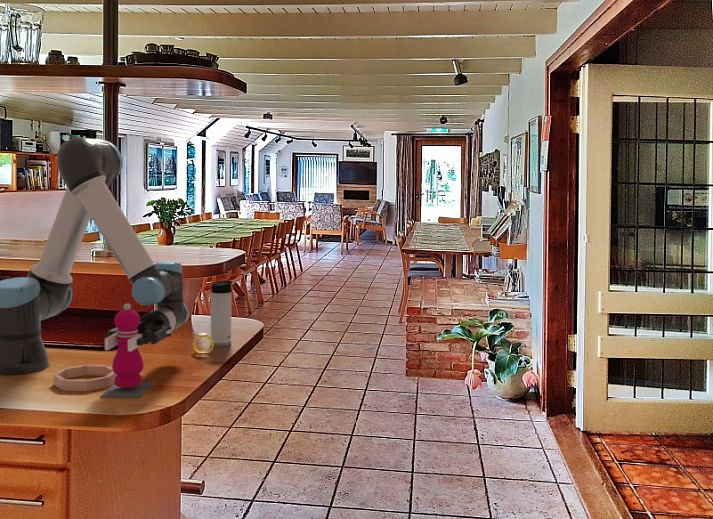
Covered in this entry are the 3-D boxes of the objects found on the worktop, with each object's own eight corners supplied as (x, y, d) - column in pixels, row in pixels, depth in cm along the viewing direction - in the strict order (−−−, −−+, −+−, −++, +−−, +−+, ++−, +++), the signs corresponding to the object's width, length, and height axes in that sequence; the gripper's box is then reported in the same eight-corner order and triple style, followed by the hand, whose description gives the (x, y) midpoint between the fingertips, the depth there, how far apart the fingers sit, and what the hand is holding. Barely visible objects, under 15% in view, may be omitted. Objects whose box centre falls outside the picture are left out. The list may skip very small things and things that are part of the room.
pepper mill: (126, 377, 176) (125, 299, 174) (149, 381, 174) (149, 302, 171) (106, 385, 170) (104, 304, 167) (130, 389, 167) (129, 307, 165)
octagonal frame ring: (45, 389, 170) (45, 379, 170) (70, 373, 184) (70, 364, 184) (102, 391, 170) (102, 381, 170) (123, 375, 184) (123, 366, 184)
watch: (192, 355, 207) (191, 335, 206) (195, 352, 210) (193, 333, 209) (212, 354, 207) (211, 334, 206) (215, 352, 210) (213, 332, 209)
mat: (100, 397, 166) (100, 395, 166) (118, 382, 178) (118, 380, 178) (138, 398, 166) (138, 397, 166) (154, 383, 178) (154, 382, 178)
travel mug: (234, 345, 218) (235, 282, 216) (214, 347, 215) (214, 283, 212) (228, 341, 224) (228, 279, 221) (208, 343, 220) (208, 280, 218)
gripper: (189, 339, 188) (154, 362, 165) (124, 336, 189) (81, 358, 167) (189, 312, 187) (154, 331, 164) (124, 308, 189) (81, 327, 166)
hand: (117, 345), depth 165 cm, fingers closed on pepper mill, 5 cm apart
